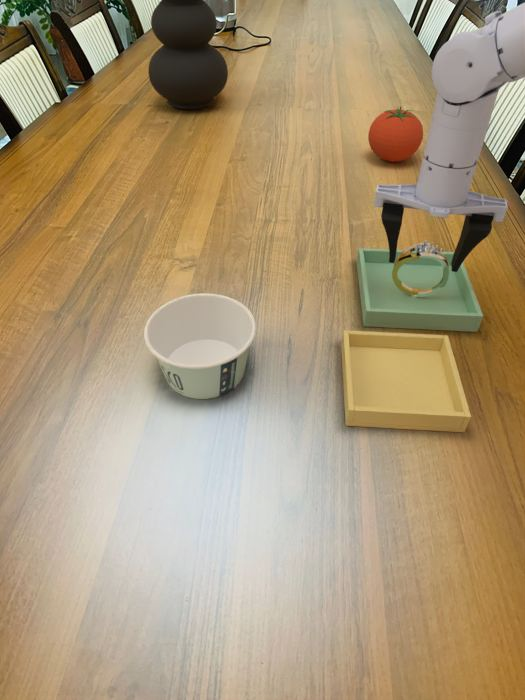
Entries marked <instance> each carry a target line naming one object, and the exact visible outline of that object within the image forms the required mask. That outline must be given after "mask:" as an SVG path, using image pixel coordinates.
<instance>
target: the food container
mask: <svg viewBox="0 0 525 700" xmlns="http://www.w3.org/2000/svg"><path fill="white" fill-rule="evenodd" d="M256 334H257V321H256V319H255V317H254V315H253V313H252V311H251V310H250V309H249V308H248V307H247V306H246V305H244V304H243V303H242V302H240V301H239V300H237V299H235V298H233V297H229V296H227V295H223V294H218V293H208V292H207V293H206V292H204V293H203V292H202V293H191V294H187V295H182V296H179V297H176V298H174V299H171V300H169V301H167V302H165V303H163V304H162V305H161V306H159V307H158V308H157V309H155V310H154V311H153V313H151V315H150V316H149V317H148V319H147V321H146V323H145V326H144V330H143V337H144V342H145V345H146V347H147V349H148V350H149V352H150V353H151V354H152V355H153V356H154V357H155V358H156V361H157V363H158V366H159V367H160V369H161V372H162V374H163V376H164V378H165V380H166V382H167V384H168V385H169V387H170V388H171V389H172V390H173V391H174V392H176V393H177V394H179V395H180V396H183V397H186V398H189V399H195V400H209V399H215V398H218V397H221V396H223V395H225V394H227V393H230V392H231V391H233V390H234V389H235V388H236V387H237V386H238V385H239V384H240V383H241V381H242V380H243V377H244V374H245V370H246V366H247V361H248V356H249V352H250V346H251V345H252V344H253V342H254V340H255V337H256Z"/></svg>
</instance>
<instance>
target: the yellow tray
mask: <svg viewBox="0 0 525 700" xmlns="http://www.w3.org/2000/svg"><path fill="white" fill-rule="evenodd" d="M340 351H341V369H342V387H343V402H344V418H345V419H344V420H345V421H344V422H345V426H346V427H349V426H350V427H364V428H380V429H398V430H399V429H400V430H413V431H414V430H415V431H416V430H417V431H431V432H432V431H436V432H448V433H449V432H450V433H451V432H452V433H465V432H466V429H467V427H468V426H469V423H470V420H471V418H472V414H471V411H470V408H469V403H468V399H467V397H466V394H465V391H464V387H463V384H462V380H461V376H460V372H459V369H458V366H457V365H458V364H457V362H456V358H455V355H454V352H453V348H452V344H451V341H450V337H449V335H448V334H428V333H408V332H388V331H368V330H367V331H366V330H347V329H346V330H345V329H344V330H343V331H342V338H341V343H340Z"/></svg>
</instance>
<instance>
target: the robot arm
mask: <svg viewBox="0 0 525 700" xmlns="http://www.w3.org/2000/svg"><path fill="white" fill-rule="evenodd" d="M484 23H485V24H484V25H483V26H481V27H478V28H476V29H472V30H470V31H460V32H457V33H455V34H453V36H452V37H451V38H450V39H449V40H447V41H446V42H445V43H444V44H443V45H442V46H441V47H440V48H439V50H438V51H437V52H436V54H435V57H434V59H433V62H432V67H431V80H432V84H433V86H434V89H435V91H436V92H437V93H436V97H435V100H434V101H435V102H434V105H433V106H434V107H433V111H432V114H431V119H430V124H429V128H428V131H427V132H428V134H427V136H426V141H425V146H424V150H423V155H422V160H421V163H420V169H419V173H418V176H417V181H416V182H417V183H412V184H411V183H410V184H408V183H407V184H377V185H376V189H375V193H374V201H373V207H374V208H382V210H381V215H380V218H381V224H382V225H383V229H384V231H385V235H386V238H387V243H388V249H389V262H390V263H394V262H395V258H396V251H397V250H398V241H399V237H400V233H401V228H402V224H403V217H404V212H405V209H412V210H419V211H423V212H426V213H427V212H428V215H429V216H430V217H434V218H442V219H447V218H449V217H450V215H459V216H465V217H464V220H463V225H462V229H461V233H460V236H459V239H458V242H457V244H456V247H455V250H454V251H453V252H454V254H453V258H452V262H451V271H453V272H457V271H458V269H459V267H460V266H461V264H462V263H464V262H465V260H466V258H467V257H468V256H469V255H470V254H471V252H472V251H473V250H474V249H475V248H476V247H477V246H478V245H479V244H480V243H481V242H482V241H484V240H485V239H486V238H487V237H488V236H489V235H490V234H491V232H492V228H493V222H495V223H500V224H501V223H503V222H504V220H505V216H506V214H507V211H508V208H509V205H508V200H507V198H501V197H496V196H495V197H494V196H490V195H486V194H483V193H479V192H476V191H471V190H470V189H471V185H472V182H473V178H474V177H475V172H476V169H477V166H478V162H479V159H480V156H481V153H482V149H483V145H484V142H485V139H486V136H487V133H488V129H489V127H490V122H491V120H492V119H491V118H492V114H493V111H494V107H495V104H496V101H497V98H498V94H499V91H500V89H501V88H503V87H504V86H505V85H506V84H507V83H513V82H514V83H515V82H516V81H520V80H521V79H524V78H525V1H524V2H522V3H520V4H518V5H517V6H515V7H513V8H511V9H509V10H507V11H505V12H504V13H502V11H501V10H496V11H493V12H491V13H489V14H488V15H486V16H485V17H484Z"/></svg>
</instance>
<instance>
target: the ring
mask: <svg viewBox="0 0 525 700" xmlns="http://www.w3.org/2000/svg"><path fill="white" fill-rule="evenodd" d="M438 247H439V245H438V244H436V245H434V242H432V241H431V242H428V240H427V239H424V241H423V242H419V243H415V244H412V245H410V246H409V247H407V248H404V249H403V250H404V251H403V252H402V253H401V254H400V255H399V256H398V258H397V260H396V261H395V264H394V267H393V271H392V278H393V281H394V283H395V285H396V286H397V288H398V289H400V290H401V291H402V292H404V293H406V294H408V295H411V297H412V298H417V297H427V296H431V295H434V294H436V293H437V292H439V291H440V290H441V289H442V288H443V287H444V286H445V285H446V283H447V281H448V277H449V263H448V260H447V259H446V257H445V256H444V255H443V254H442V253H441V252H443V248H442V247H440V248H439V249H438ZM413 251H416V252H417V253H416V254H411V255H408V254H409V253H411V252H413ZM419 257H420V258H431V259H435V260H437V261H439V262H440V263H441V265H442V267H443V276H442V279H441V280H440V282H439V283H438V284H437V285H436V286H434V287H432V288H430V289H427V290H419V289H418V288H413V289H412V288H409V287H407V286H406V285H404V284H403V283H402V282H401V280H400V279H399V276H398V270H399V268H400V267H401V266H402V265H404V264H405V263H407V262H410V261H413V260H417V259H419Z"/></svg>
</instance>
